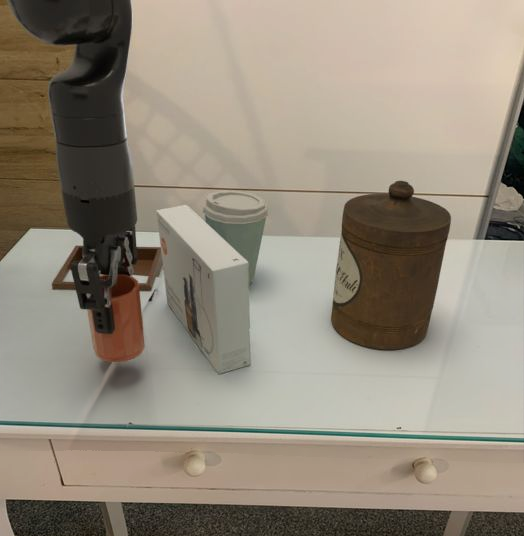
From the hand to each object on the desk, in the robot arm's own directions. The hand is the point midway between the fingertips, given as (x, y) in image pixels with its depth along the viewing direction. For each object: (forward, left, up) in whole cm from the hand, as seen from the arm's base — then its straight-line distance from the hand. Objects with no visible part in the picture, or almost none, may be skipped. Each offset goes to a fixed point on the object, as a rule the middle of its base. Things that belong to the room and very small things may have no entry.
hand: (115, 316), depth 68 cm
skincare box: (+8, +12, -9) cm, 17 cm away
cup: (0, 0, -5) cm, 5 cm away
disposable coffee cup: (+10, +29, -9) cm, 32 cm away
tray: (-11, +26, -9) cm, 30 cm away
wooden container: (+34, +19, -9) cm, 40 cm away
